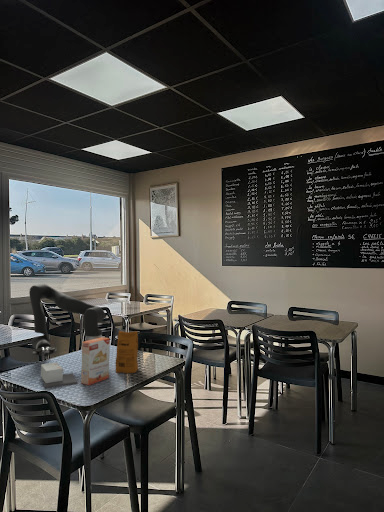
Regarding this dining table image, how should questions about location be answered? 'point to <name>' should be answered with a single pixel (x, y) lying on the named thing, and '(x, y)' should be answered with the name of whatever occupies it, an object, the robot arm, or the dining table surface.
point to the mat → (67, 380)
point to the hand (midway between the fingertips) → (46, 354)
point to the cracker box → (95, 360)
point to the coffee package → (127, 352)
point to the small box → (51, 372)
